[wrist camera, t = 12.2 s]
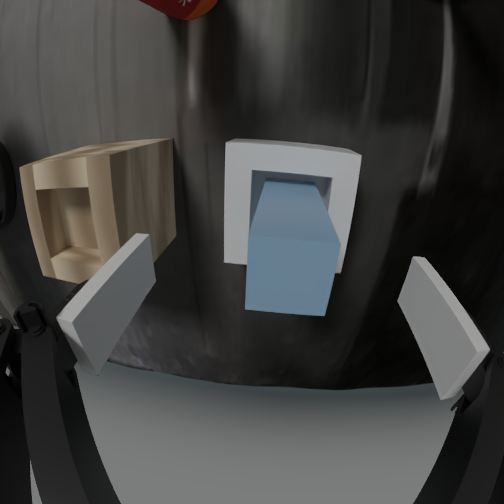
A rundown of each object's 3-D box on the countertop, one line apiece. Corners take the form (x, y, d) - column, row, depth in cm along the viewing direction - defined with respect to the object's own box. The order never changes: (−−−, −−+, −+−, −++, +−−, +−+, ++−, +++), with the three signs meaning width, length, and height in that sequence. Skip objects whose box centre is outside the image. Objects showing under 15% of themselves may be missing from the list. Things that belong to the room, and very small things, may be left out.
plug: (262, 228, 25) (244, 318, 14) (266, 177, 22) (248, 235, 12) (307, 232, 24) (322, 325, 14) (314, 182, 22) (340, 244, 12)
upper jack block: (100, 229, 29) (43, 275, 20) (90, 144, 24) (19, 167, 15) (176, 235, 28) (129, 293, 19) (172, 138, 23) (109, 155, 14)
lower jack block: (233, 240, 28) (224, 262, 24) (236, 138, 23) (225, 142, 19) (333, 249, 27) (340, 273, 23) (348, 149, 22) (361, 155, 18)
